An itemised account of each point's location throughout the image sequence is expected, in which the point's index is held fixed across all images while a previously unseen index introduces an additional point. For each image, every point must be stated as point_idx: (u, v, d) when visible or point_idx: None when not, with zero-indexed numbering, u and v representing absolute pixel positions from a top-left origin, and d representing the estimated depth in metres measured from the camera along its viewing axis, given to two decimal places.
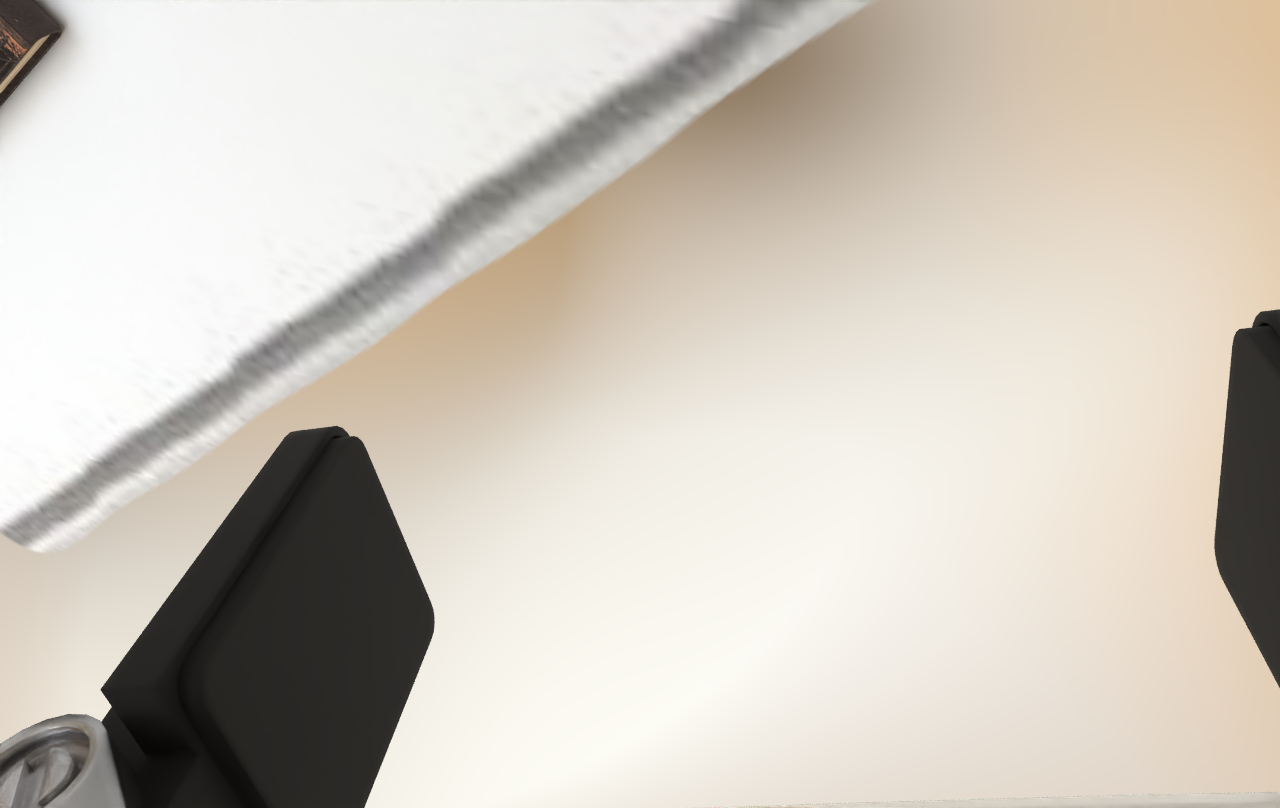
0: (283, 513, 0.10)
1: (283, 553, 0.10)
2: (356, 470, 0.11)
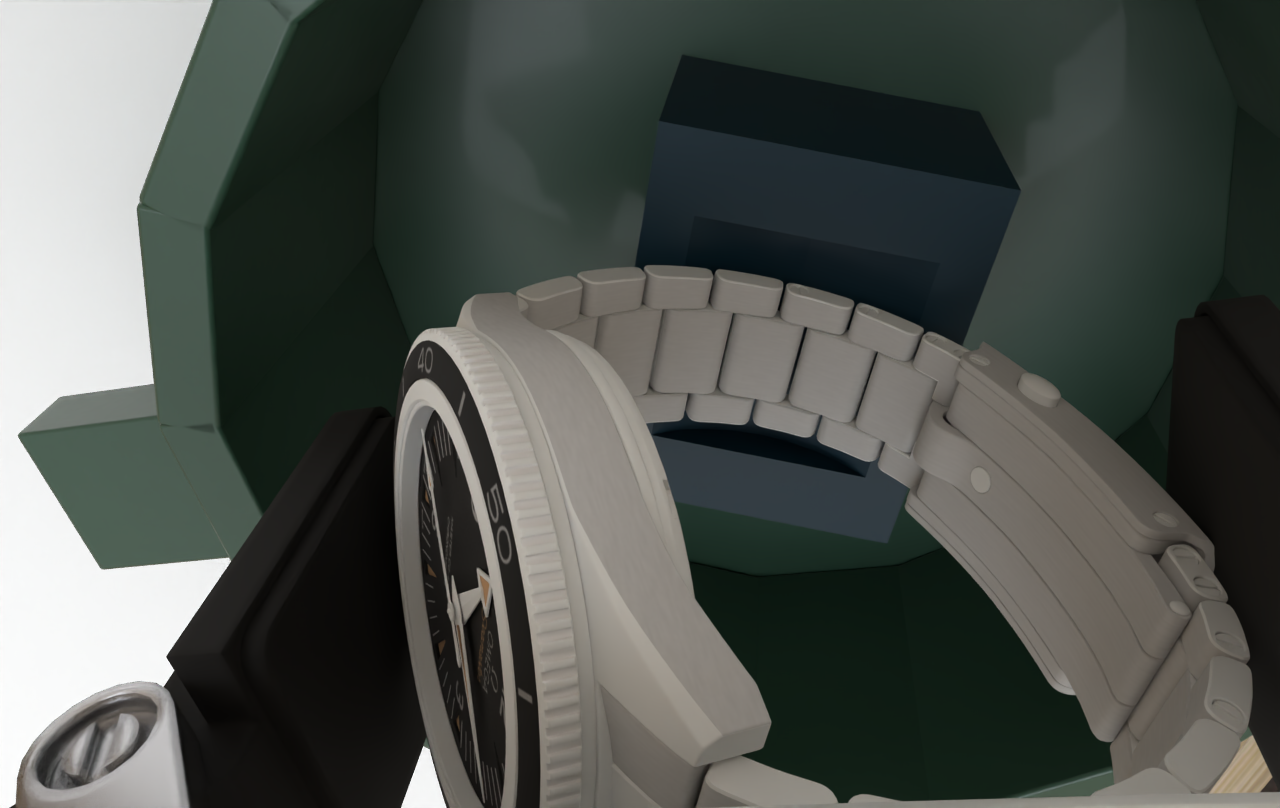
0: (333, 489, 0.10)
1: (336, 528, 0.10)
2: None
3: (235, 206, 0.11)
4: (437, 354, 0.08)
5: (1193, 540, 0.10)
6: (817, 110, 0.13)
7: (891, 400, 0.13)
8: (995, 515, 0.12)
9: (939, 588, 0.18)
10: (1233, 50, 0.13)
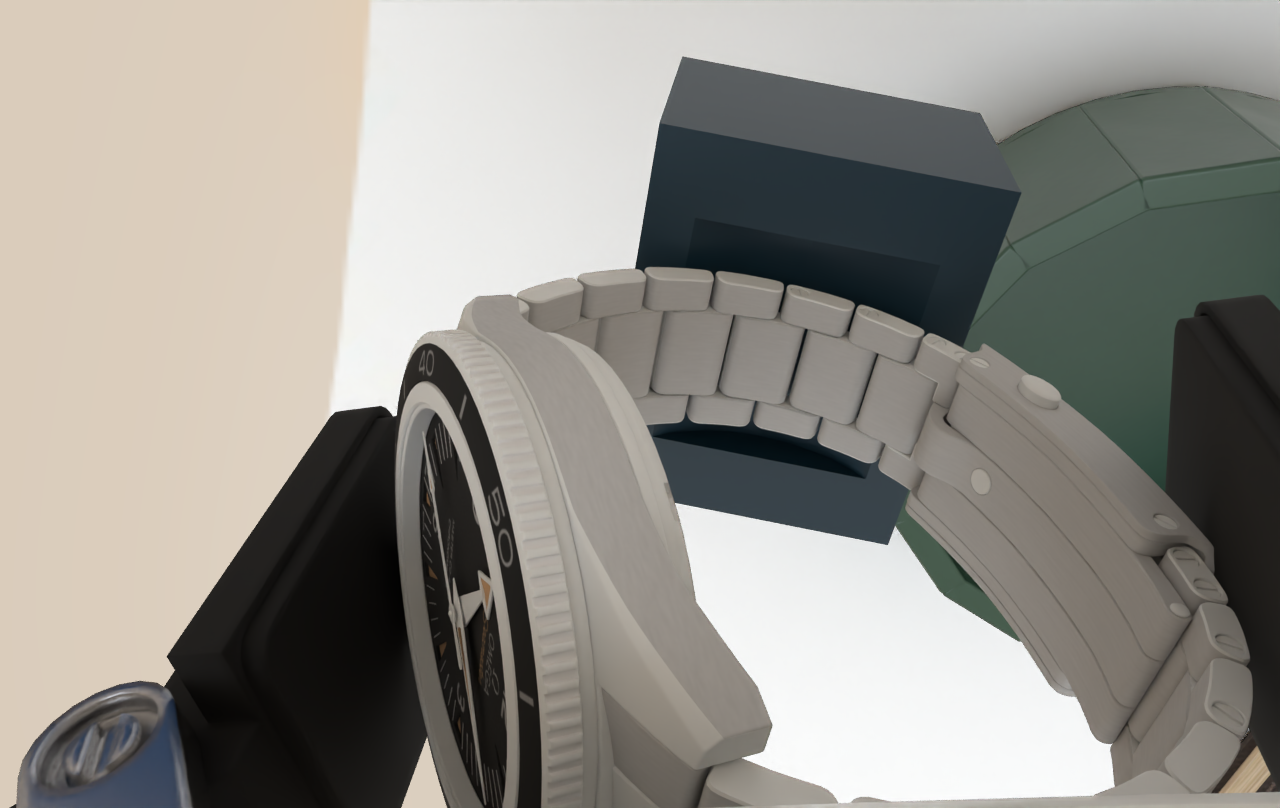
0: (333, 489, 0.10)
1: (336, 528, 0.10)
2: None
3: None
4: (440, 356, 0.08)
5: (1193, 541, 0.10)
6: (817, 112, 0.13)
7: (891, 402, 0.13)
8: (995, 517, 0.12)
9: None
10: None
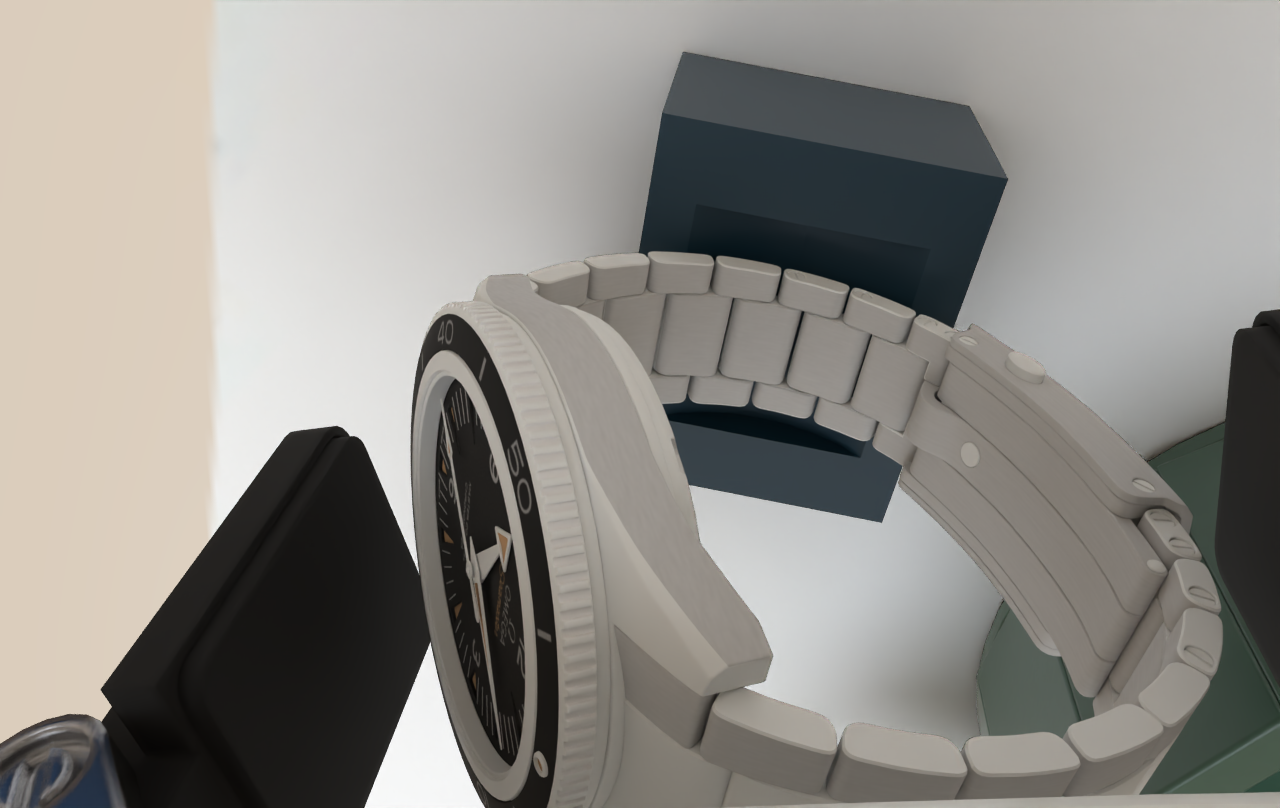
0: (283, 513, 0.10)
1: (283, 554, 0.10)
2: (356, 470, 0.11)
3: None
4: (459, 324, 0.09)
5: (1169, 504, 0.10)
6: (814, 103, 0.14)
7: (885, 381, 0.13)
8: (984, 488, 0.12)
9: None
10: None
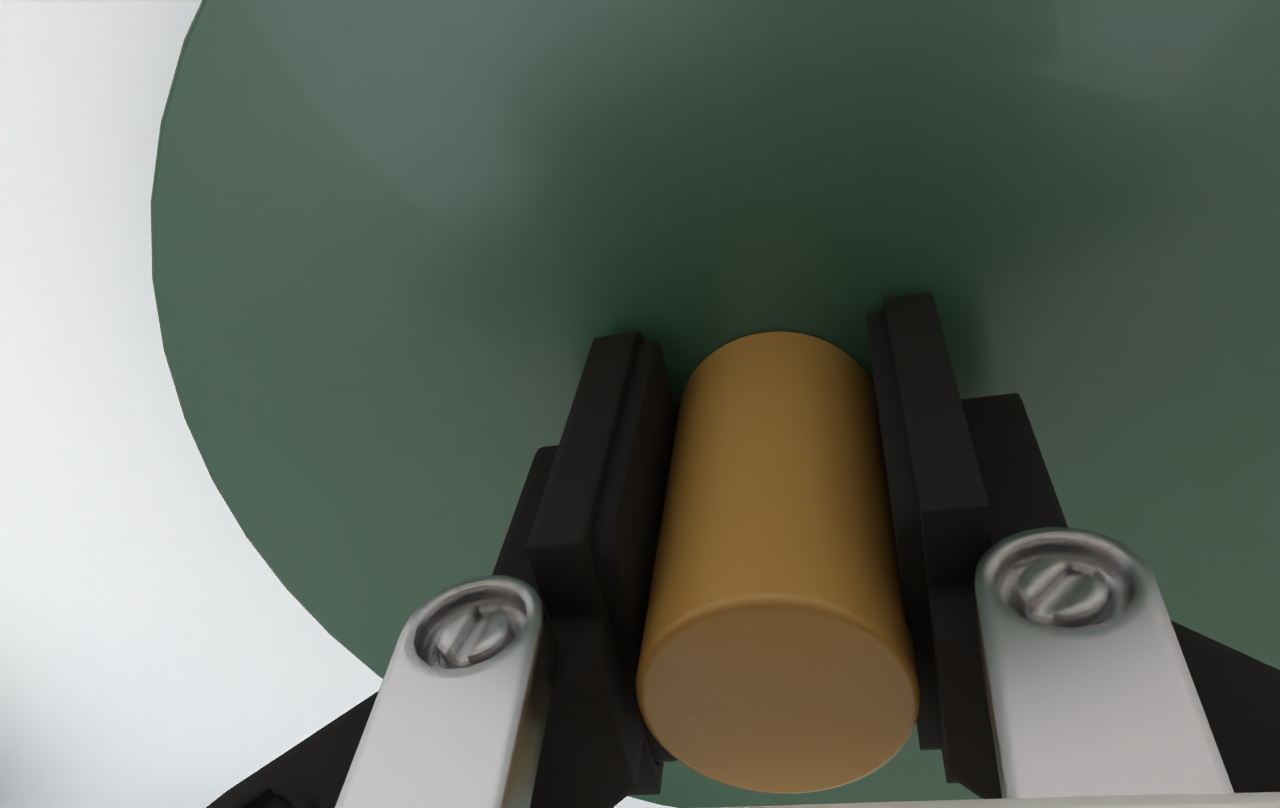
0: (623, 404, 0.10)
1: (637, 439, 0.10)
2: (661, 373, 0.12)
3: None
4: None
5: None
6: None
7: None
8: None
9: None
10: None
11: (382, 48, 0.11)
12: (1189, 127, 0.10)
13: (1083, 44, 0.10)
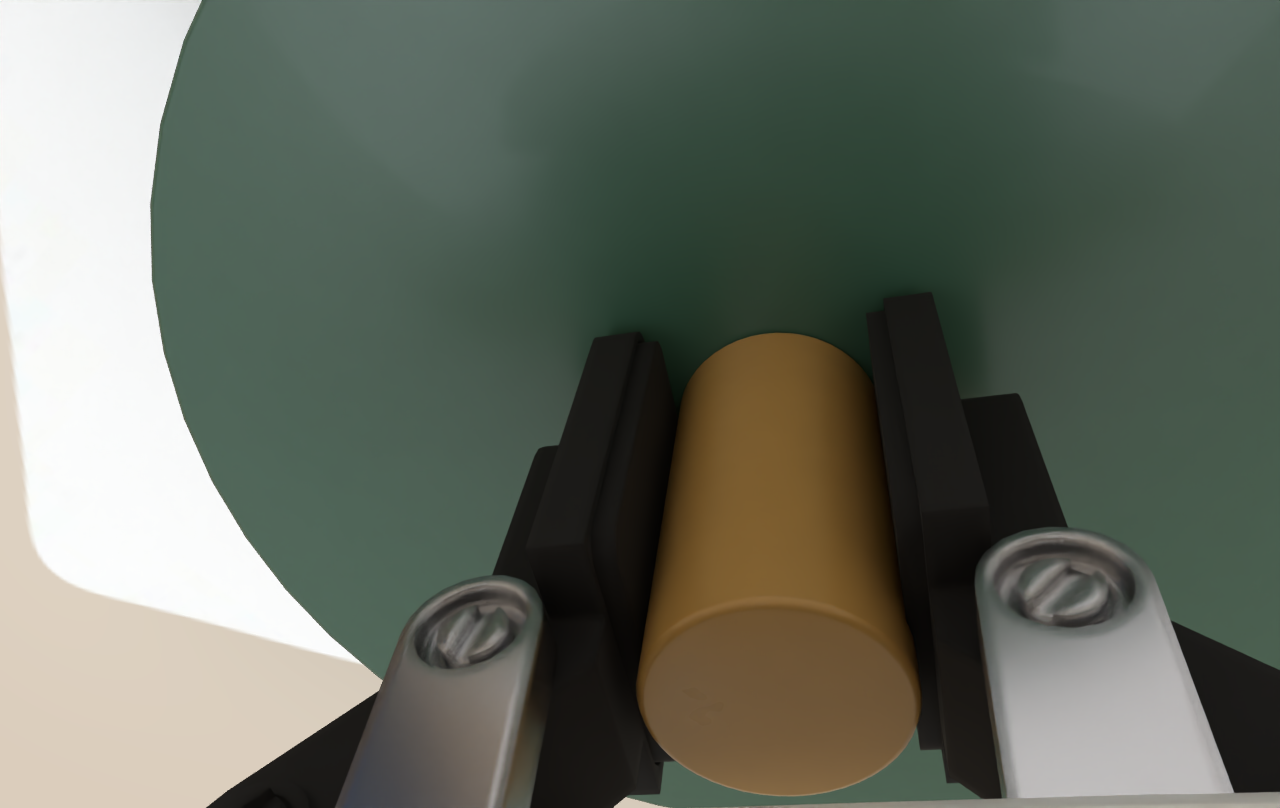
0: (623, 404, 0.10)
1: (638, 438, 0.10)
2: (661, 373, 0.12)
3: None
4: None
5: None
6: None
7: None
8: None
9: None
10: None
11: (382, 49, 0.11)
12: (1190, 128, 0.10)
13: (1084, 45, 0.10)
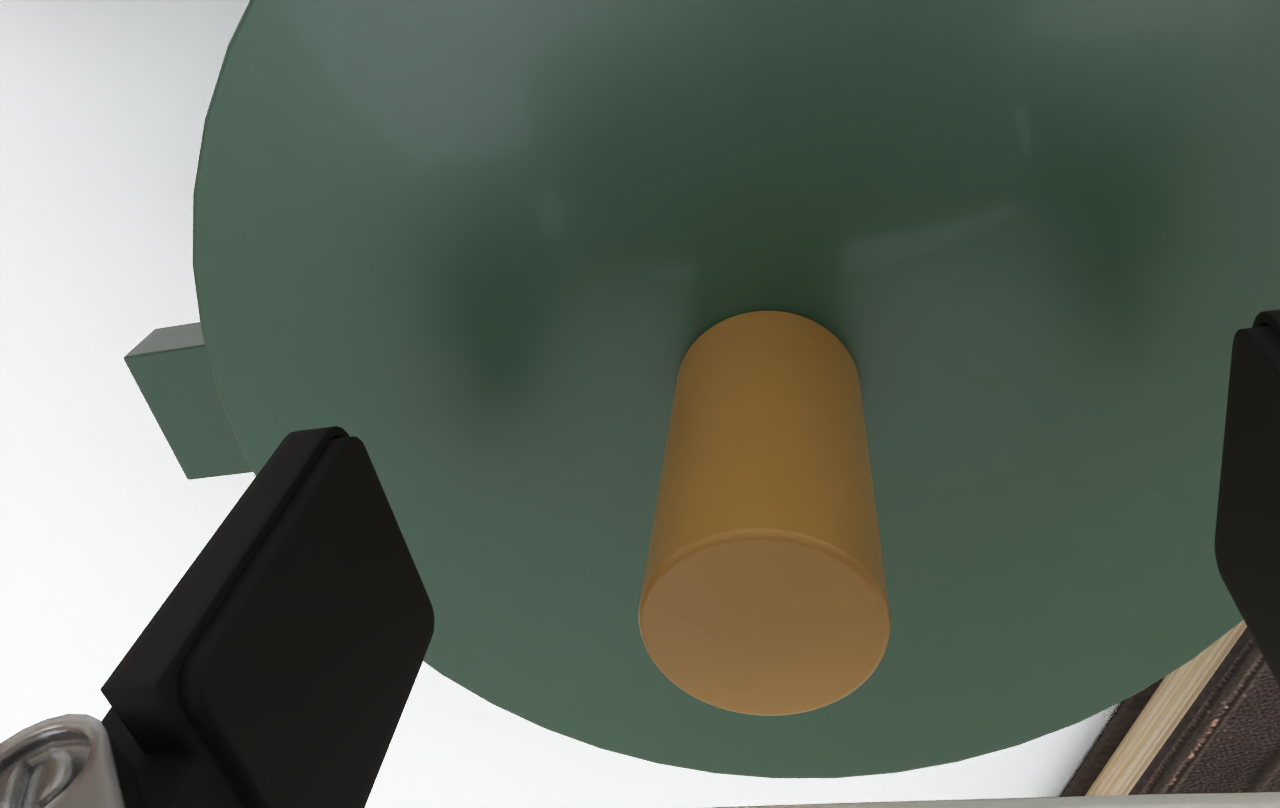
0: (283, 512, 0.10)
1: (283, 554, 0.10)
2: (356, 470, 0.11)
3: None
4: None
5: None
6: None
7: None
8: None
9: None
10: None
11: (408, 53, 0.12)
12: (1132, 123, 0.11)
13: (1036, 49, 0.11)
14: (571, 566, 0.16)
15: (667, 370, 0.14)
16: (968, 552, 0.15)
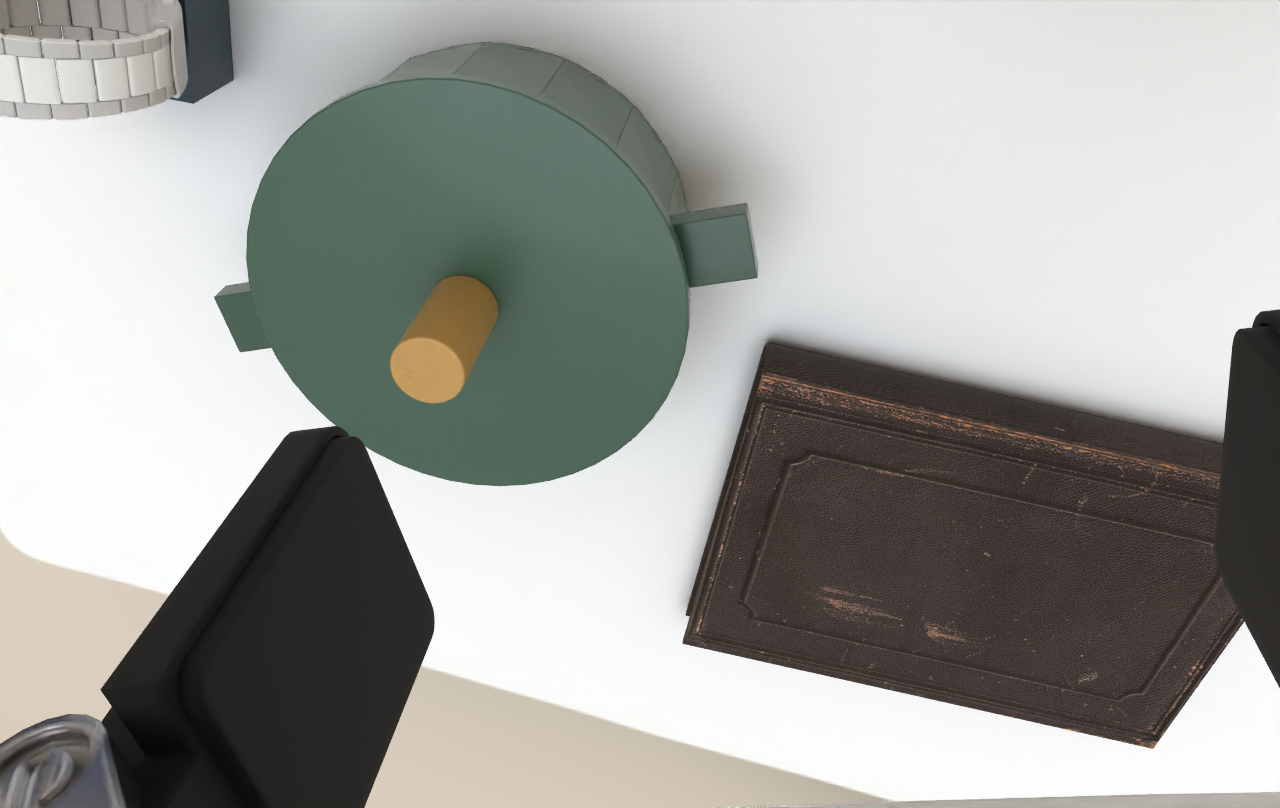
0: (283, 512, 0.10)
1: (284, 554, 0.10)
2: (356, 470, 0.11)
3: None
4: None
5: (169, 26, 0.31)
6: None
7: None
8: None
9: None
10: None
11: (323, 184, 0.34)
12: (567, 210, 0.33)
13: (530, 186, 0.33)
14: None
15: (427, 298, 0.36)
16: (553, 372, 0.37)
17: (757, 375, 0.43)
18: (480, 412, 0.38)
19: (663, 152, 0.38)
